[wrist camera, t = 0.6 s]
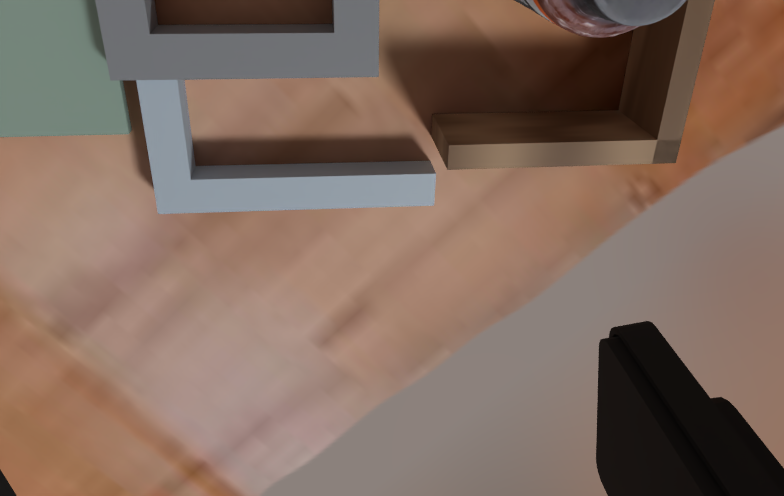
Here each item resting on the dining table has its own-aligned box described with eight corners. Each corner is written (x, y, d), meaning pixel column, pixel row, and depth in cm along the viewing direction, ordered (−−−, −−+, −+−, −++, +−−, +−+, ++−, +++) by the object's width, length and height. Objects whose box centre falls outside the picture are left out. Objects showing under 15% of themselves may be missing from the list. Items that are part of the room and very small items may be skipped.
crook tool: (435, 66, 33) (441, 76, 32) (428, 191, 37) (434, 205, 35) (144, 68, 32) (135, 78, 30) (164, 198, 35) (158, 213, 34)
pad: (100, -47, 29) (96, -45, 29) (131, 129, 33) (129, 134, 33) (-98, -48, 28) (-106, -47, 28) (-41, 133, 32) (-47, 138, 32)
